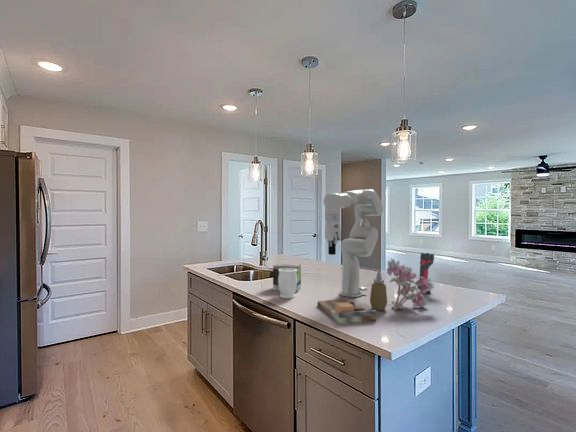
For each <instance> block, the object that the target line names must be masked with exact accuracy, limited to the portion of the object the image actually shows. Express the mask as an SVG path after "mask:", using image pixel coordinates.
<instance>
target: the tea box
mask: <svg viewBox="0 0 576 432" xmlns="http://www.w3.org/2000/svg"><path fill="white" fill-rule="evenodd" d="M280 268H295V269H297V272H296V274H297V286H296V291H295V293H297V292H299V291H300V290H301V289H302V288H301V287H302V264H300V263H299V264H298V263H295V264H294V263H276V264H275V265H273V266H272V273H273V274H272V289H273V291H279V292H280V290H279V284H278V276H279V271H278V269H280Z"/></svg>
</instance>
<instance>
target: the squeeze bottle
mask: <svg viewBox="0 0 576 432" xmlns="http://www.w3.org/2000/svg"><path fill="white" fill-rule="evenodd" d="M370 289H371V290H370V295H369V296H370V297H369V303H370V306H371V310H376V311H377V312H378V311H385V310H386V307H387V304H388V295H387V286H386V284H385V279H383V278H382V274H381V272H380V271H377V273H376V277H375V278H373V283H372V284H371V288H370Z"/></svg>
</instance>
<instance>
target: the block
mask: <svg viewBox="0 0 576 432" xmlns="http://www.w3.org/2000/svg"><path fill="white" fill-rule="evenodd" d="M353 311H354V306H353V305H352V304H350V303H349V302H343V303H335V312H336V313H337V314H338V315H339V313H340V312H353Z"/></svg>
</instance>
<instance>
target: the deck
mask: <svg viewBox="0 0 576 432" xmlns="http://www.w3.org/2000/svg"><path fill="white" fill-rule="evenodd" d="M343 302H349V303H350V304H352V305H353V306H354V311H353V312H340V313H339V315H338V314H337V313H336V312H335V303H343ZM355 303H356V302H355V301H353V300H351V299H350V298H348V299H347V298H345V299H343V298H342V299H331V300H328V299H327V300H317V307H318V308H319V309H321V310H322V311H323V312H324V313H325V314H326V315H327V316H329V317H330V318H331V319H332V320H333V321H335V322H336V323H337V324H338V325H344V324H356V323H357V324H359V323H369V322H370V323H371V322H377V310H374V309H370V310H366V309H365V307H363V306H356V305H355Z"/></svg>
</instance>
